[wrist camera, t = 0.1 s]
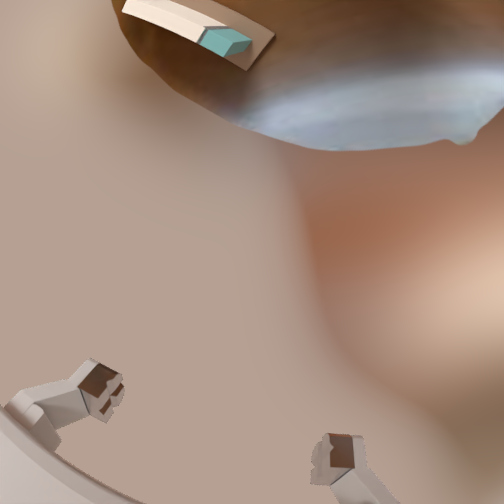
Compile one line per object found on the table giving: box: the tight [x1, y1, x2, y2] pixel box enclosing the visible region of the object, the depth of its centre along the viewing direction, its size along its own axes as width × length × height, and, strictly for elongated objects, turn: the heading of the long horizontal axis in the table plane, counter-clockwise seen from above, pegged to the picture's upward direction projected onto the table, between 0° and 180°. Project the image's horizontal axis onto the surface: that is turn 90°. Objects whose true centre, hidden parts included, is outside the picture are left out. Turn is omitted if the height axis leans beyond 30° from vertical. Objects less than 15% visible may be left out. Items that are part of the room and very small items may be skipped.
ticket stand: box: [122, 0, 275, 71], centre depth 34 cm, size 26×10×13 cm, turn 56°
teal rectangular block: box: [198, 28, 252, 57], centre depth 36 cm, size 5×3×12 cm, turn 56°
